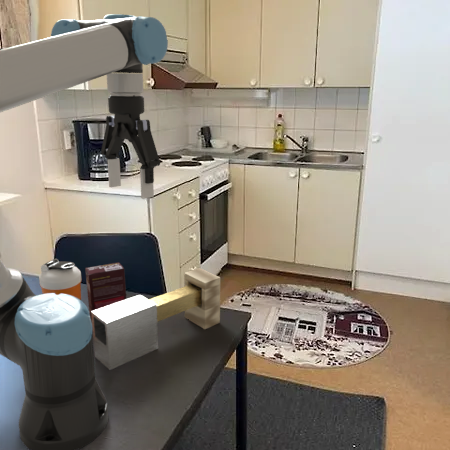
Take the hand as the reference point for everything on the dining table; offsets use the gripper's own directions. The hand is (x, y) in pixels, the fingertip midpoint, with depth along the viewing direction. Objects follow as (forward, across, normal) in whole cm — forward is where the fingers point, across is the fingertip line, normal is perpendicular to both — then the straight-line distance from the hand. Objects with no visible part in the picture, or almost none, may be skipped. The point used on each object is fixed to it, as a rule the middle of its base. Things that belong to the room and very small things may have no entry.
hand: (130, 191), depth 105 cm
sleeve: (+35, -8, +8) cm, 36 cm away
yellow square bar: (+29, -8, -4) cm, 30 cm away
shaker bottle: (+35, +5, +16) cm, 39 cm away
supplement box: (+35, +5, +5) cm, 36 cm away
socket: (+35, -8, -14) cm, 38 cm away
